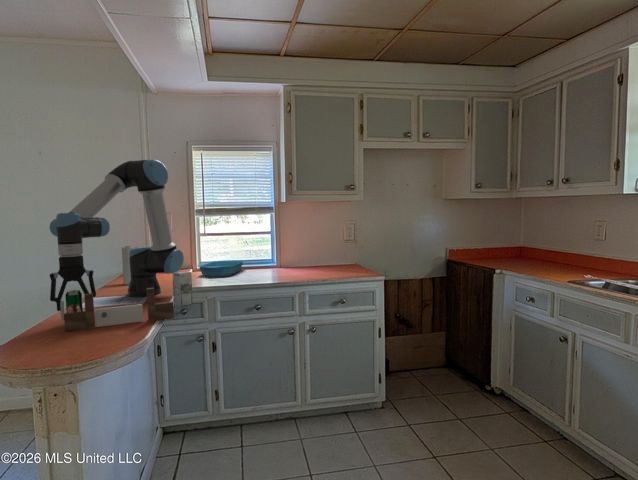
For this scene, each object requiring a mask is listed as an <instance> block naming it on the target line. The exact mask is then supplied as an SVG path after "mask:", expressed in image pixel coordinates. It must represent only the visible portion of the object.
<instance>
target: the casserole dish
mask: <svg viewBox="0 0 638 480" xmlns="http://www.w3.org/2000/svg"><path fill="white" fill-rule="evenodd" d="M243 263H244V261H243V260H237V259H235V260H233V259H232V260H217V261H215V260H213V261H210V262H207V263H205V264H200V265H199V266H198V267H199V270H200V273H201V275H203V277H205V278H211V277H212V278H213V277H214V278H215V277H216V278H219V277H221V278H223V277H229V276H232V275H234V274H237V273H238V272H240V271H241V269H242V267H243Z"/></svg>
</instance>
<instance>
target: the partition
mask: <svg viewBox="0 0 638 480" xmlns="http://www.w3.org/2000/svg"><path fill="white" fill-rule="evenodd" d="M83 295H84V300H85V302H84V310H83V311H82V312H73V313H67V312H64V320H63V322H64V323H63V324H64V332H65V333H68V332H69V333H70V332H76V331H86V330H95V328H96V316H95V305H94V304H95V302H94V297H93V293H90V292H89V294H83ZM146 300H147V319H148V320H147V321H148V322H149V323H150V322H156V321H163V320H171V319H174V318H175V312H174V310H175V309H174V301H167V302H157V303H156V299H155V295H154V288H147V296H146Z"/></svg>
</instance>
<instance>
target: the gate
mask: <svg viewBox="0 0 638 480" xmlns="http://www.w3.org/2000/svg"><path fill="white" fill-rule="evenodd" d="M143 310H144V309H143V303H140V304H139V303H138V304H130V305H129V304H128V305H122V306H121V305H120V306H113V307H111V306H110V307H103V308H102V307H101V308H95V327H96V328H99V327H106V326H115V325H123V324H129V323H138V322H139V323H140V322H143V321H144V311H143Z"/></svg>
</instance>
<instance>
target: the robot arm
mask: <svg viewBox="0 0 638 480" xmlns="http://www.w3.org/2000/svg"><path fill="white" fill-rule="evenodd" d="M168 179H169V172H168V170H167V167H166V166H165V164H164V163H163V162H162V161H160V160H158V159H149V158H148V159H140V160H128V161H125V162H123V163H121V164H119V165H118V166H116V167H115V168H114V169H112V170H111V171H110V172H108V173H107V174H106V175H105V176H104V180H103V181H102V182H101V183H100V184H99V185H97V186H96V187H95V189H93V190H92V191H90V193H89V194H87V195H86V196H85V197H84V198H83V199H82V200H81V201H80V202H79V203H78V204H77V205H75V206H74V207H73V208H72V209H71V210H70V211H68V212H59V213H57V214H56V217H55V218H54V219H53V220H52V221H50V224H49V231H50V233H51V234H52V235H53V236H54V237H57V252H58V255H59V257H58V266H59V269H58V270H57V272H56V271H55V272H51V273H50V274H49V278H50V294H49V297H50V298H49V301H50V302H55V303H56V310H57V312H60V320H61V321H64V314H65V302H64V300H62V298H63V295H64V293H65V290H66V287H67V285H68V283H69V282H77V283H78V284H79V286H80V288H81V289H80V290H82V292H83V295H85V294H90V292H91V293H93V298H95V297H97V292H96V286H95V280H94V277H93V276H94V272H95V271H94V270H93V269H91V270H90V269H86V268H85V266H84V265H85V263H84V256H83V253H84V252H83V251H84V250H83V239H87V238H102V237H104V236H107V235H108V234H109V232H110V230H111V228H110V223H109V221H108V219H106V218H104V217H99V216H98V217H95V216H96V215H97V214H98V213H99V212H100V211H101V210H102V209H103V208H104V207H105V206H106V205H107V204H109V202H111V201H112V200H113V199H114V198H115V197H116V196H117V195H118V194H119V193H124V191H126V189H129V188H133V187H137V188H136V189H137V192H138V193H140V194H141V195H142V199H143V205H144V208H145V213H146V219H147V223H148V228H149V232H150V237H151V242H152V245H149V246H144V247H137V248H136V249H131V250H130V252H129V262H130V275H131V280H130V284H129V285H128V288H127V296H128V297H137V298H139V297H147V288H154V296H156V295H158V294H160V293H161V292H162V290H161V288H162V287H161V285H160V283H159V281H158V278H157V274H167V275H169V274H173V272H180V270H181V269H182V267H183V265H184V259H185V258H184V257H185V256H184V253H183V251H182V250H181V249H179V248H177V244H176V242H173V239H172V236H171V235H172V234H171V230H170V225H169V221H168V214H167V209H166V205H165V200H164V199H165V198H164V195H163V192H164V191H165V188H166V186H165V185H166V184H168V181H169V180H168ZM85 274H86V276H87V277H88V281H89V288H90V291H89V290H88V288H87V285H86V284H85V283H84V280H83V276H84V275H85ZM58 277H61V279H62V280H63V281H62V283H61V285H60V289H59V292H58V295H57V296H56V294H57V293H56V291H57V290H56V289H57V279H58ZM83 303H85V299H84V302H83Z"/></svg>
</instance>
